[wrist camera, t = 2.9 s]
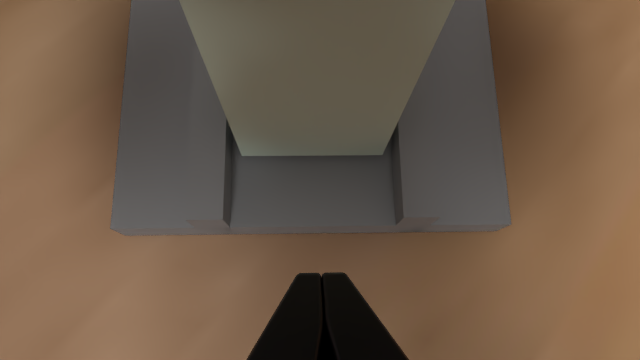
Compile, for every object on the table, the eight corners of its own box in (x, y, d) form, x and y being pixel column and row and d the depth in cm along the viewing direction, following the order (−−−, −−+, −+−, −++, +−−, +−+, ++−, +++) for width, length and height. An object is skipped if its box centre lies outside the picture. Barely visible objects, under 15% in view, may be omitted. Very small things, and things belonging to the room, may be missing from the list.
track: (495, 231, 19) (577, 194, 14) (125, 235, 19) (45, 200, 13) (459, -112, 23) (509, -252, 18) (154, -114, 23) (103, -259, 17)
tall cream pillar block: (382, 155, 18) (469, -29, 8) (241, 156, 18) (166, -30, 8) (376, 30, 19) (445, -252, 10) (245, 31, 19) (183, -257, 10)
